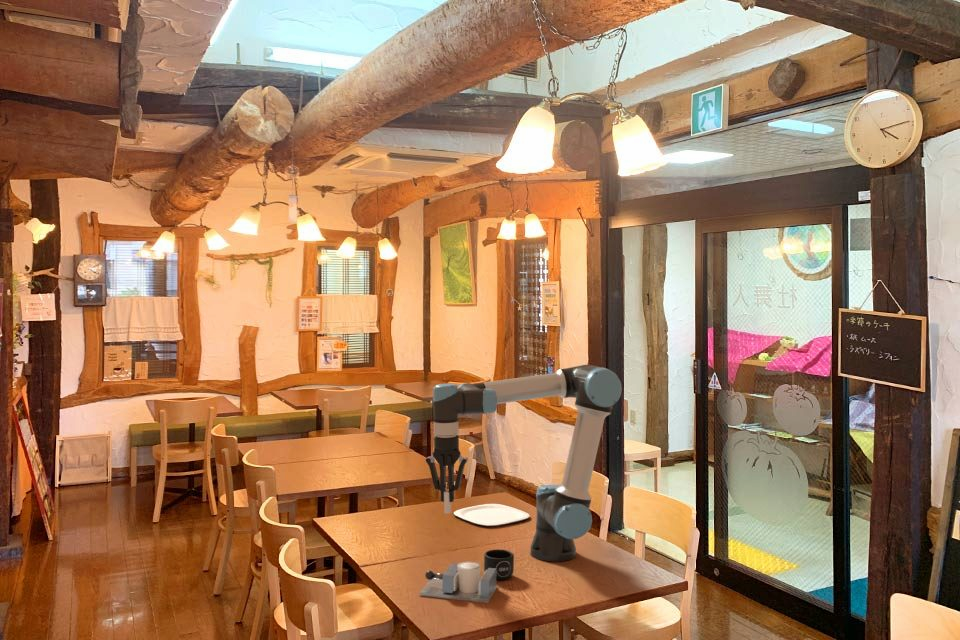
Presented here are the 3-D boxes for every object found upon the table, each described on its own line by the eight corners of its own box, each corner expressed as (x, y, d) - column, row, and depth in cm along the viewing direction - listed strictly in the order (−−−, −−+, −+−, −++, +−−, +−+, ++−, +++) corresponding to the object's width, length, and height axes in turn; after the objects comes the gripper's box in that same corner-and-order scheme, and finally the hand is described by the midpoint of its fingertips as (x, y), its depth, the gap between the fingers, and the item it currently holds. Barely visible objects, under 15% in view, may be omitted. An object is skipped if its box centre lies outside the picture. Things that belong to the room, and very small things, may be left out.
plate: (495, 505, 321) (495, 501, 321) (537, 520, 301) (537, 515, 301) (445, 515, 305) (445, 511, 305) (487, 531, 285) (487, 527, 285)
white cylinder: (478, 594, 222) (478, 570, 221) (454, 592, 223) (454, 568, 223) (482, 585, 228) (483, 562, 228) (459, 583, 230) (460, 560, 229)
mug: (517, 580, 236) (518, 557, 236) (489, 583, 233) (489, 560, 233) (504, 567, 247) (504, 545, 247) (477, 570, 244) (477, 547, 244)
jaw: (463, 581, 231) (463, 564, 231) (454, 593, 221) (454, 576, 221) (430, 577, 233) (430, 561, 233) (420, 589, 224) (420, 572, 223)
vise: (496, 587, 230) (497, 567, 230) (487, 603, 218) (488, 581, 218) (431, 580, 234) (431, 561, 234) (419, 595, 223) (419, 574, 222)
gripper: (469, 433, 239) (471, 509, 240) (428, 432, 242) (430, 507, 243) (464, 437, 232) (466, 516, 233) (422, 437, 234) (423, 514, 235)
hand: (447, 512), depth 238 cm, fingers closed
